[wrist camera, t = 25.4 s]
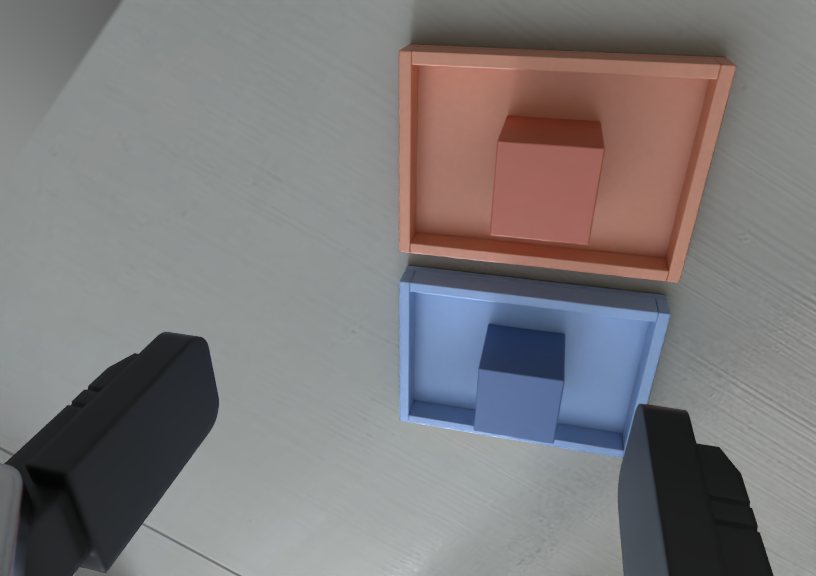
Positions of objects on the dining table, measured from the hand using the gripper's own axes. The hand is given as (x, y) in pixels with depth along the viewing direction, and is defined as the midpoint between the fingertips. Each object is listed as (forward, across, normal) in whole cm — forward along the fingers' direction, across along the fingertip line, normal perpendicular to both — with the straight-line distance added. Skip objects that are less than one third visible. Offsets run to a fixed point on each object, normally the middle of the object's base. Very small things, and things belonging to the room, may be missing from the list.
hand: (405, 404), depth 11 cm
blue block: (+21, -2, +14) cm, 26 cm away
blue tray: (+22, -2, +14) cm, 26 cm away
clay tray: (+22, -2, +2) cm, 22 cm away
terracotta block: (+21, -2, +2) cm, 22 cm away
